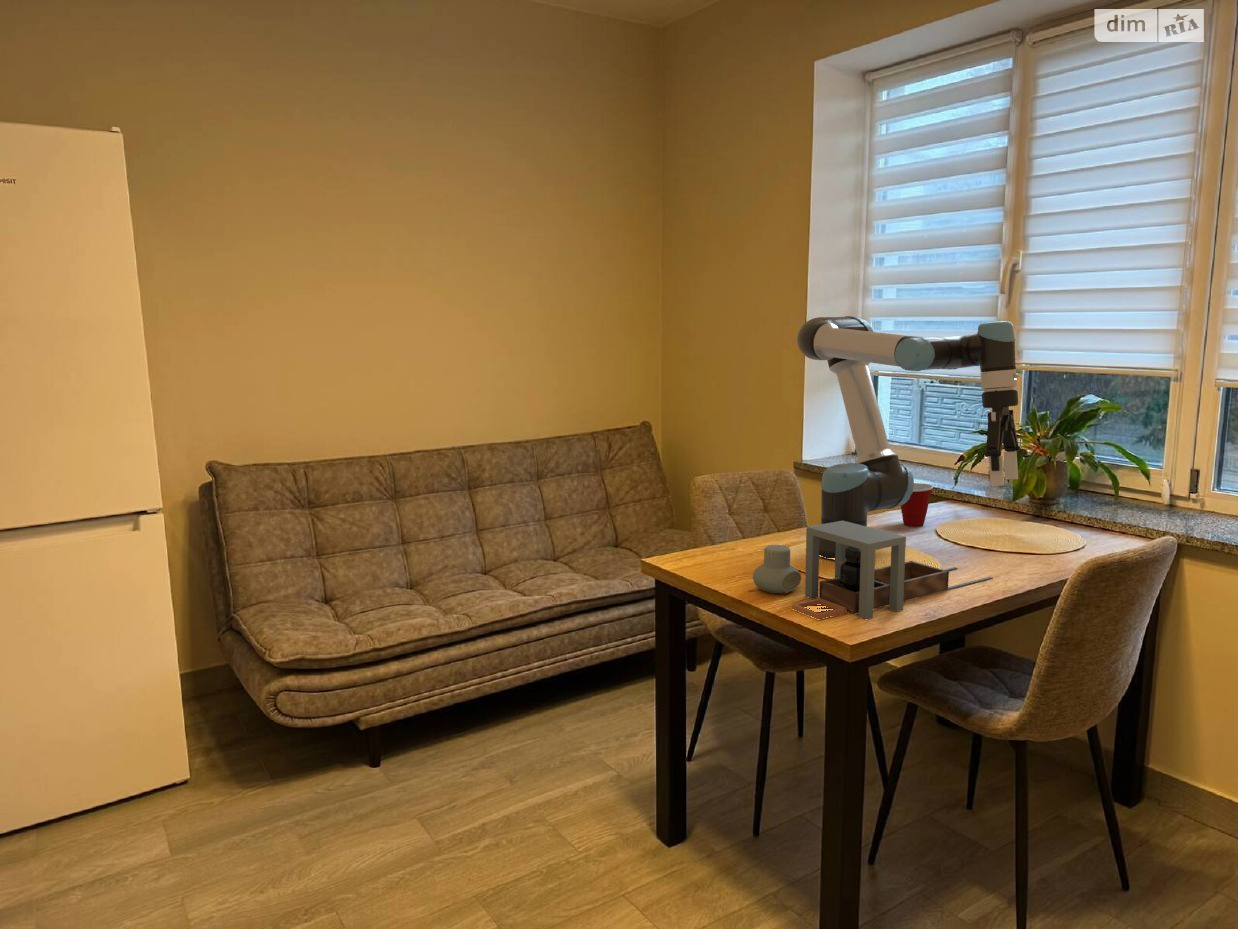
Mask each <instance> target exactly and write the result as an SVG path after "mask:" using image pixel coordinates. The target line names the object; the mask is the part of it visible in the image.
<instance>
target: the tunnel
mask: <svg viewBox="0 0 1238 929" xmlns="http://www.w3.org/2000/svg"><path fill="white" fill-rule="evenodd" d="M805 533H806V535H805V536H806V537H805V540H806V541H805V543H806V544H805V547H806V548H805V578H804V579H805V582H804V583H805V586H804V589H805V590H804V597H805V596H806V597H805V598H807V597H809V598H808V599H810V598H811V599H810V600H813V599H812V598H814V599H817V598H816V597H818V598H819V581H820V580H819V575H820V574H819V573H820V572H819V571H820V557H819V537H820V538H823V539H827V540H830V541H834V542H836V551H835V560H834V562H835V563H834V578H837V577H839V568H840V563H841V562H842V561H843V560H845V559H846V558H845V557H844V555H845V549H846V548H849V546H851V547H855V548H858V549H861V565H860V597H859V611H858V612H853V611H850V612H849V614H850V613H851V614H850V615H852V614H853V615H856V614H855V613H857V614H858V617H859V618H860V617H861V618H862V619H863V620H866V619H867V620H870V619H873V618H874V610H876V609H881V608H884V607H887V606H888V610H890V609H891V611H894V612H900V611H903V610H904V602H906V601H910V600H915V599H919V598H923V597H926V596H931V595H934V594H938V593H941V592H947V591H950V590H953V589H957V588H963V587H966V586H970V585H973V584H977V583H981V582H986V581H989V580H992V579H994V578H993V576H987V577H983V578H979V579H975V580H970V581H967V582H963V583H959V584H955V585H952V586H948V589H944V590H940V591H936V592H932V593H928V594H924V595H920V596H917V597H913V598H909V599H905V600H903V597H904V581H905V580H904V572H905V562H906V545H907V543H906V541H907V536H905V535H901V534H897V533H894V532H890V531H889V532H888V531H886V530H881V529H877V528H874V527H869V526H867V527H866V526H862V525H858V524H854V523H850V522H846V521H837V522H832V523H826V524H821V523H820V524H817V525H811V526H806V532H805ZM886 548H890V549H891V550H890V565H891V571H890V597H889V604H885V605H881V606H877V607H874V608H873V604H874V575H875V569H876V568H875V566H876V550H881V549H886ZM957 569H958V567H957V566H953V567H949V568H945V569H943V570H946V571H949V572H950V571H955V570H957ZM907 580H909V579H907ZM861 618H860V619H861Z"/></svg>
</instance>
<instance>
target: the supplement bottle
mask: <svg viewBox="0 0 1238 929" xmlns="http://www.w3.org/2000/svg"><path fill="white" fill-rule="evenodd" d="M844 557H845V558H846V559H845V560H843V561H842V562H841V563H840V568H839V587H842V588H845V589H848V590H851V591H854V592H859V591H860V565H861V549H858V548H855V547H849V548H846V549H845V555H844Z"/></svg>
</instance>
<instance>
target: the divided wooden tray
mask: <svg viewBox="0 0 1238 929" xmlns="http://www.w3.org/2000/svg"><path fill="white" fill-rule="evenodd" d="M890 571H891V564H890V565H887V566H882V567H878V568H875V575H874V604H873V608H874V607H877V606H881V605H885V604H889V597H890ZM949 576H950V571H946V570H944V569H942V568H938V567H934V566H930V565H927V564H924V563H920V562H917V561H913V560H908V561H905V572H904V580H905V581H904V597H903V600H905V599H909V598H913V597H917V596H920V595H924V594H928V593H932V592H936V591H940V590H944V589H948V587H949V578H950V577H949ZM907 579H909V580H907ZM859 597H860V591H859V592H854V591H851V590H848V589H845V588H842V587H839V577H837V578H835V577H833V578H828V579H825V580H819V587H818V598H821V599H824V600H827V601H829V602H832V603H835V604H837V605H840V606H843V607H846V608H847V610H848V611H850V612H858V611H859Z"/></svg>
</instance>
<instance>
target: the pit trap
mask: <svg viewBox="0 0 1238 929" xmlns="http://www.w3.org/2000/svg"><path fill="white" fill-rule="evenodd" d="M817 604H821V605H817ZM807 606H826V608H825V607H824V608H822V607H821V609H833V610H828V611H827V610H826V611H821V612H814V611H812V610H809V609H810V608H809V609H807V608H804V607H807ZM827 607H828V608H827ZM792 609H794V610H797V611H799V612H801V613H804V614H806V615H809V616H812V617H814V618H816V619H822V620H824V619H823V618H826V617H830V616H834V617H837V615H838V616H841V615H840V614H842V615H845V614H844V613H846V614H847V610H848V609H847V608H846V607H843V606H840V605H837V604H835V603H832V602H829V601H827V600H824V599H821V598H819V597H818V598H814V599H809V600H805V601H801V602H797V603H793V604H791V610H792ZM817 609H818V608H817ZM819 609H820V608H819ZM801 613H800V614H801ZM806 615H805V616H806ZM830 618H831V617H830ZM816 619H815V620H816ZM826 619H827V618H826Z"/></svg>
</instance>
